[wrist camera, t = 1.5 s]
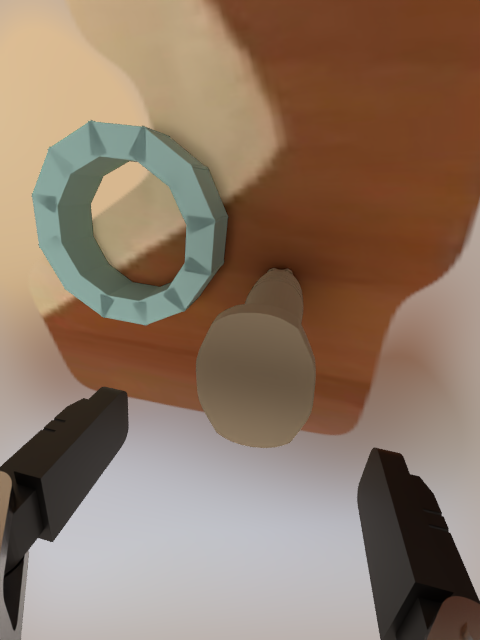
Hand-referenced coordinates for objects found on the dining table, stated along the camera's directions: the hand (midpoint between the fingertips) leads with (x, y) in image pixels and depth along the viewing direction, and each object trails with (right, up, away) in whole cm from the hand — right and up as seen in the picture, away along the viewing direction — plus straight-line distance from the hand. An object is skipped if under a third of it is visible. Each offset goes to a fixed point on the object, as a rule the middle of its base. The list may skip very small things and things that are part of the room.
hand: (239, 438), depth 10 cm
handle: (+3, +7, +16) cm, 18 cm away
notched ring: (-8, +12, +17) cm, 22 cm away
